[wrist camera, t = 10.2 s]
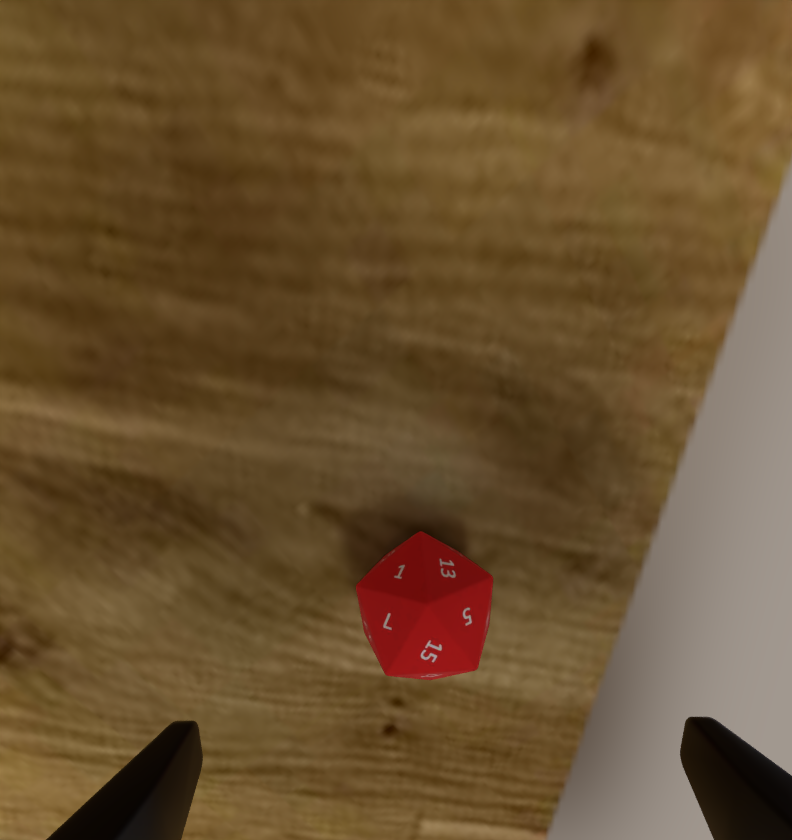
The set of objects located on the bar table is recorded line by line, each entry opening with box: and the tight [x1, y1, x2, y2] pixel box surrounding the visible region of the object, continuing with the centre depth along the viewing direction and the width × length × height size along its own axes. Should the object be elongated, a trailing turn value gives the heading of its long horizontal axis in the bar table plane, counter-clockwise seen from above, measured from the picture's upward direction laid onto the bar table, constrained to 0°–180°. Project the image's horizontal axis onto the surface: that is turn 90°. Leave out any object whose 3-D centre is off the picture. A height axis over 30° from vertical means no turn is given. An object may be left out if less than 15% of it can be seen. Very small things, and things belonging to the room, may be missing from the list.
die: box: [356, 531, 493, 680], centre depth 12 cm, size 4×4×4 cm
